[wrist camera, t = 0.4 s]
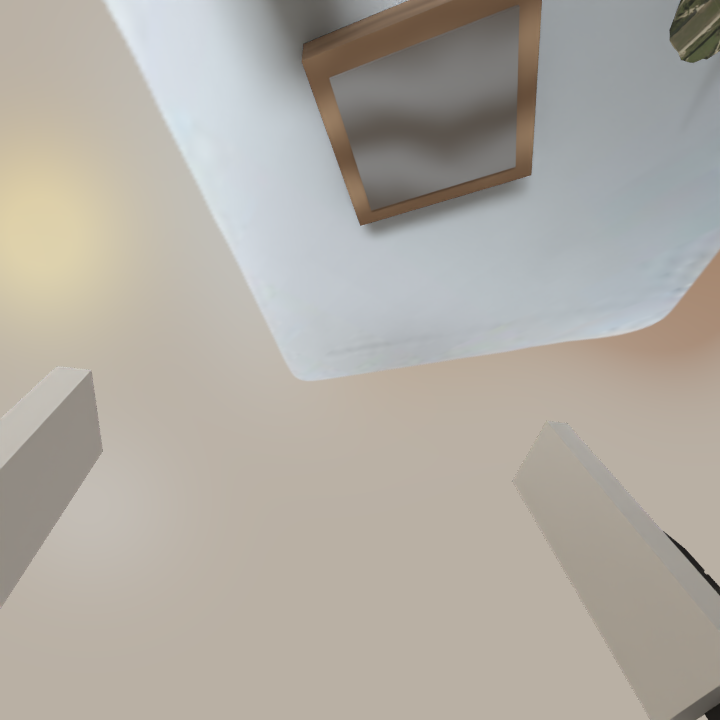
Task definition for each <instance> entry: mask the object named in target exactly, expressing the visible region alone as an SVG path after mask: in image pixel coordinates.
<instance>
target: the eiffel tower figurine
mask: <svg viewBox="0 0 720 720" xmlns="http://www.w3.org/2000/svg"><path fill="white" fill-rule="evenodd" d="M670 42H671V44H672V45H673V47H674V48H675V49H676V50H677V51H678V53H679V56H680V58H681V60H684V61H687V62H690V63H694V62H696V61H699V60H701V59H708V58H710V57H711V56H713V55H714V54H716V53H717V52H719V51H720V0H681V1H680V4H679V7H678V9H677V12H676V15H675V17H674V20H673V23H672V25H671V28H670Z"/></svg>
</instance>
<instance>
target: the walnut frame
mask: <svg viewBox="0 0 720 720" xmlns="http://www.w3.org/2000/svg"><path fill="white" fill-rule="evenodd" d="M541 6H542V0H409V1H406V2H404V3H401V4H399V5H396V6H394V7H392V8H389V9H387V10H384V11H382V12H380V13H377V14H375V15H372V16H370V17H368V18H365V19H363V20H360V21H358V22H355V23H353V24H351V25H348V26H346V27H343V28H341V29H339V30H336V31H334V32H331V33H329V34H326V35H324V36H322V37H319V38H317V39H314V40H312V41H310V42H307V43H305V44H303V53H302V64H303V67H304V69H305V72H306V75H307V78H308V81H309V83H310V86H311V89H312V92H313V95H314V97H315V100H316V103H317V106H318V108H319V111H320V114H321V117H322V120H323V122H324V125H325V128H326V131H327V134H328V136H329V139H330V142H331V145H332V148H333V150H334V153H335V156H336V159H337V162H338V164H339V167H340V170H341V173H342V176H343V178H344V181H345V184H346V187H347V190H348V192H349V195H350V198H351V201H352V204H353V206H354V209H355V212H356V215H357V218H358V220H359V223H360V226H361V225H365V224H368V223H372V222H375V221H378V220H382V219H385V218H388V217H392V216H395V215H398V214H402V213H405V212H409V211H412V210H415V209H419V208H422V207H425V206H429V205H432V204H436V203H439V202H442V201H446V200H449V199H452V198H456V197H459V196H462V195H466V194H469V193H473V192H476V191H479V190H483V189H486V188H489V187H493V186H496V185H500V184H503V183H506V182H510V181H513V180H516V179H520V178H523V177H526V176H530V175H531V172H532V155H533V139H534V122H535V106H536V89H537V73H538V56H539V39H540V23H541Z"/></svg>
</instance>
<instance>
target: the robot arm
mask: <svg viewBox="0 0 720 720" xmlns="http://www.w3.org/2000/svg"><path fill="white" fill-rule="evenodd" d="M102 452H103V449H102V442H101V435H100V428H99V421H98V413H97V406H96V400H95V393H94V385H93V378H92V372H91V370H87V369H78V368H69V367H60V366H57V367H56V368H54V369H53V371H51V372H50V373H49V374H48V375H47V376H46V377H45V378H44V379H43V380H41V381H40V382H39V383H38V384H37V385H36V386H35V387H34V388H33V389H32V390H31V391H30V392H29V393H27V394H26V395H25V396H24V397H23V398H22V399H21V400H20V401H19V402H18V403H17V404H16V405H15V406H13V407H12V408H11V409H10V410H9V411H8V412H7V413H6V414H5V415H4V416H3V417H2V418H0V609H1V607H2V606H3V604H4V603H5V601H6V599H7V598H8V596H9V595H10V593H11V592H12V590H13V588H14V587H15V586H16V584H17V583H18V581H19V579H20V578H21V576H22V575H23V573H24V572H25V570H26V569H27V567H28V566H29V564H30V563H31V561H32V559H33V558H34V556H35V555H36V553H37V552H38V550H39V549H40V547H41V546H42V544H43V543H44V541H45V539H46V538H47V536H48V535H49V533H50V532H51V530H52V529H53V527H54V526H55V524H56V523H57V521H58V519H59V517H60V516H61V515H62V513H63V512H64V510H65V509H66V507H67V506H68V504H69V502H70V501H71V499H72V498H73V496H74V495H75V493H76V492H77V490H78V488H79V487H80V486H81V484H82V482H83V481H84V479H85V478H86V476H87V475H88V473H89V472H90V470H91V468H92V467H93V465H94V464H95V462H96V461H97V459H98V458H99V456H100V455H101V453H102ZM512 482H513V484H514V485H515V487H516V489H517V491H518V492H519V494H520V495H521V498H522V499H523V501H524V502H525V504H526V506H527V508H528V509H529V511H530V513H531V515H532V517H533V518H534V520H535V522H536V523H537V525H538V527H539V529H540V530H541V532H542V534H543V536H544V537H545V539H546V541H547V542H548V544H549V546H550V547H551V549H552V551H553V553H554V554H555V556H556V558H557V560H558V561H559V563H560V565H561V567H562V568H563V570H564V572H565V574H566V575H567V577H568V579H569V580H570V582H571V584H572V585H573V587H574V589H575V591H576V593H577V594H578V596H579V598H580V599H581V601H582V603H583V605H584V606H585V608H586V610H587V611H588V613H589V615H590V617H591V618H592V620H593V622H594V624H595V625H596V627H597V629H598V631H599V632H600V634H601V636H602V637H603V639H604V641H605V643H606V644H607V646H608V648H609V649H610V651H611V653H612V655H613V656H614V658H615V660H616V662H617V663H618V665H619V667H620V668H621V670H622V672H623V674H624V675H625V677H626V679H627V681H628V682H629V684H630V685H631V687H632V689H633V691H634V693H635V694H636V696H637V698H638V700H639V701H640V703H641V705H642V706H643V708H644V710H645V712H646V713H647V715H648V717H649V719H650V720H696V719H698V718H699V717H701V716H703V715H704V714H705V715H706V717H707V718H708V720H720V587H719V586H718V585H717V583H715V581H714V580H713V579H712V578H711V577H710V576H709V575H708V574H707V575H706V574H705V573H704V569H703V568H702V567H701V566H700V565H699V564H698V562H697V561H696V560H695V559H694V558H693V557H692V556H691V555H690V554H689V552H688V551H687V550H686V549H685V548H683V547H682V546H681V545H680V544H679V543H677V542H676V541H675V540H674V539H672V538H671V537H670V536H669V535H668V534H666V533H665V532H664V531H662V530H661V529H660V528H659V526H658V525H657V524H656V523H655V522H654V521H653V520H652V519H651V517H650V516H649V515H648V514H647V513H646V512H645V511H644V509H643V508H642V507H641V506H640V505H639V504H638V503H637V502H636V501H635V499H634V498H633V497H632V496H631V495H630V494H629V492H627V490H626V489H625V488H624V487H623V486H622V485H621V484H620V483H619V481H618V480H617V479H616V478H615V477H614V476H613V474H612V473H611V472H610V471H609V470H608V469H607V468H606V466H605V465H604V464H603V463H602V462H601V461H600V460H599V459H598V458H597V456H596V455H595V454H594V453H593V452H592V451H591V450H590V448H589V447H588V446H587V445H586V444H585V443H584V442H583V441H582V439H581V438H580V437H579V436H578V435H577V434H576V433H575V431H574V430H573V429H572V428H571V427H570V426H569V425H568V423H561V422H553V421H546V423H545V425H544V426H543V428H542V430H541V432H540V433H539V435H538V437H537V439H536V440H535V442H534V444H533V446H532V448H531V449H530V451H529V453H528V454H527V456H526V458H525V460H524V461H523V463H522V465H521V467H520V468H519V470H518V472H517V474H516V476H515V477H514V479H513V481H512Z"/></svg>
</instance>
